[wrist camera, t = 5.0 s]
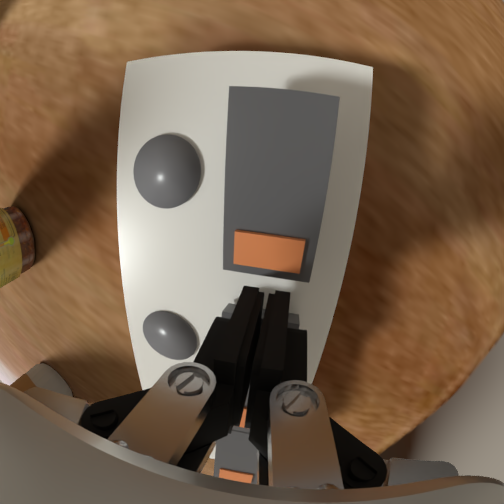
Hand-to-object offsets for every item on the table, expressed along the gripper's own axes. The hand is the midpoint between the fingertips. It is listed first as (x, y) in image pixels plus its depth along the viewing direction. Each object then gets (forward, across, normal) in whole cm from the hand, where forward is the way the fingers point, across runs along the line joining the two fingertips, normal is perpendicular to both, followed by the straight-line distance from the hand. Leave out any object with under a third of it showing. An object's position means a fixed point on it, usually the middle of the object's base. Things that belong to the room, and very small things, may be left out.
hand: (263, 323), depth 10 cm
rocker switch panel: (+5, +2, +3) cm, 6 cm away
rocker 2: (0, 0, -5) cm, 5 cm away
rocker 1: (0, 0, +11) cm, 11 cm away
